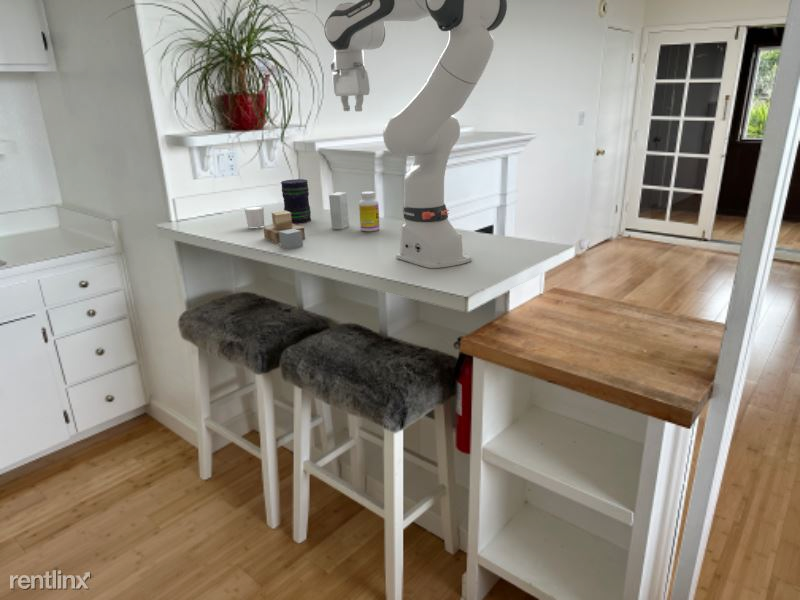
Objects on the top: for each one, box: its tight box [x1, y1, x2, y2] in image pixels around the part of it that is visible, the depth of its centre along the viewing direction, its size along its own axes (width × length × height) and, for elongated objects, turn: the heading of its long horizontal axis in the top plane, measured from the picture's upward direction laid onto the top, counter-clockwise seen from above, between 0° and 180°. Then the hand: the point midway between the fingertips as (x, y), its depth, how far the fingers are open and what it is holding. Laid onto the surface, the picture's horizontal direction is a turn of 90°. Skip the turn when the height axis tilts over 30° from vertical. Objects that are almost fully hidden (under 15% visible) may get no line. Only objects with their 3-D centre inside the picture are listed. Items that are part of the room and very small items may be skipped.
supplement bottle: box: [358, 190, 381, 232], centre depth 193 cm, size 7×7×13 cm
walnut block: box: [262, 224, 306, 245], centre depth 187 cm, size 10×10×4 cm
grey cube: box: [279, 229, 304, 250], centre depth 176 cm, size 5×5×5 cm
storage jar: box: [280, 178, 312, 225], centre depth 211 cm, size 10×10×15 cm
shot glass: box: [243, 206, 265, 228], centre depth 205 cm, size 7×7×7 cm
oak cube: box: [271, 210, 292, 230], centre depth 186 cm, size 5×5×5 cm
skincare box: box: [328, 191, 350, 230], centre depth 198 cm, size 6×4×12 cm
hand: (352, 111), depth 177 cm, fingers open, 8 cm apart
